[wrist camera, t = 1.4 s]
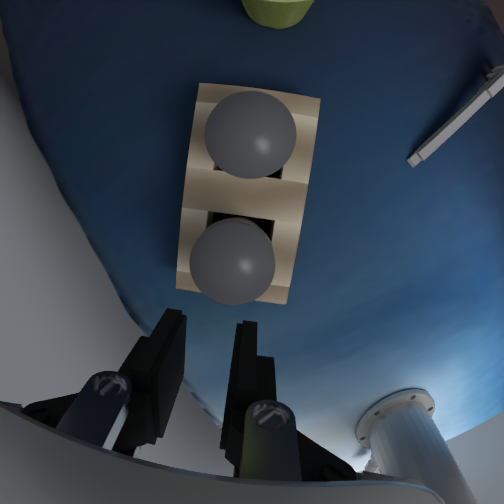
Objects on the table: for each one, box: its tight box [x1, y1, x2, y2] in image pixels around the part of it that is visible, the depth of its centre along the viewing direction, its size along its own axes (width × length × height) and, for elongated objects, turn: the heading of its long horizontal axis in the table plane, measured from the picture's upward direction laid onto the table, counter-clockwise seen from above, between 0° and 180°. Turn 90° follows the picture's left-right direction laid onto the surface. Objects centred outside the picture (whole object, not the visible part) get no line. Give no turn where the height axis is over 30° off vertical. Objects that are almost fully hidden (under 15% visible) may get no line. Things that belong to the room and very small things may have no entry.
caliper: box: [407, 65, 504, 168], centre depth 22 cm, size 20×1×6 cm, turn 135°
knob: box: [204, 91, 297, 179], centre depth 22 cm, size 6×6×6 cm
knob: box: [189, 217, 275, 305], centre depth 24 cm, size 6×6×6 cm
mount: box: [176, 83, 321, 304], centre depth 26 cm, size 18×10×4 cm, turn 172°
